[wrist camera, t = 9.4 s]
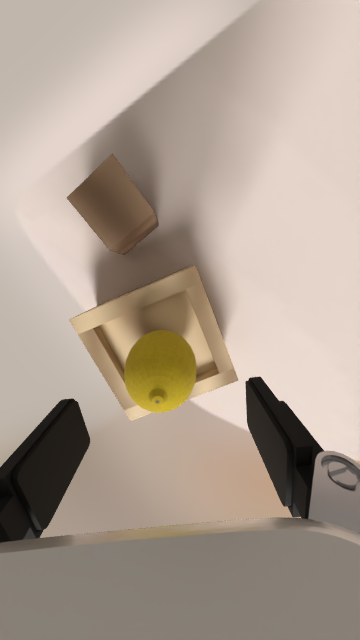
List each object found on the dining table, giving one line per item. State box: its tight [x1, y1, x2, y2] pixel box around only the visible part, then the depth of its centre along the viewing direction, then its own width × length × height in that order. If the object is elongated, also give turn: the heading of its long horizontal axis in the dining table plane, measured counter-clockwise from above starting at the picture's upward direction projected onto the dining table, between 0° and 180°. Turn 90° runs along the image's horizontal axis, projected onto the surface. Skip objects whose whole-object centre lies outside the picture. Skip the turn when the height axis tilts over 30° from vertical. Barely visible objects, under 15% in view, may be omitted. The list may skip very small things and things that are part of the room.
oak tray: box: [69, 266, 238, 421], centre depth 20 cm, size 12×12×6 cm
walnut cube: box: [67, 154, 158, 255], centre depth 17 cm, size 5×5×5 cm
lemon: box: [124, 330, 197, 413], centre depth 14 cm, size 6×6×8 cm
